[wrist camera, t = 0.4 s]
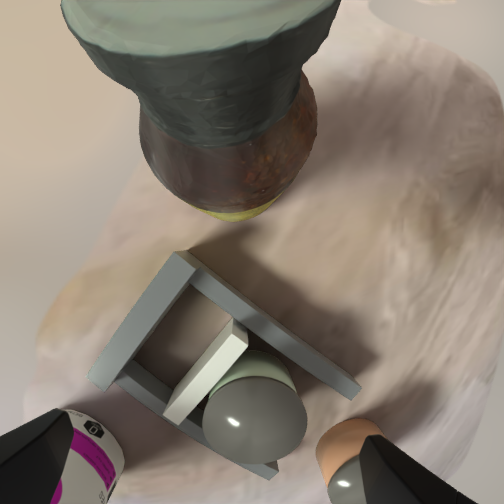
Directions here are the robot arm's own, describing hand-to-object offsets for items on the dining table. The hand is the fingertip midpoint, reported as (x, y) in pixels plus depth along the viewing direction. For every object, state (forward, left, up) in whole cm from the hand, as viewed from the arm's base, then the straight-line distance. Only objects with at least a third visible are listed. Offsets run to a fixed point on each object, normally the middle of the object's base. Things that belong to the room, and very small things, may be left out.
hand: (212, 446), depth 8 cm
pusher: (-3, 0, -15) cm, 15 cm away
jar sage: (-3, -4, -15) cm, 16 cm away
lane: (-3, -3, -15) cm, 15 cm away
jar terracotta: (-3, -15, -15) cm, 21 cm away
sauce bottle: (+8, +6, -15) cm, 18 cm away
